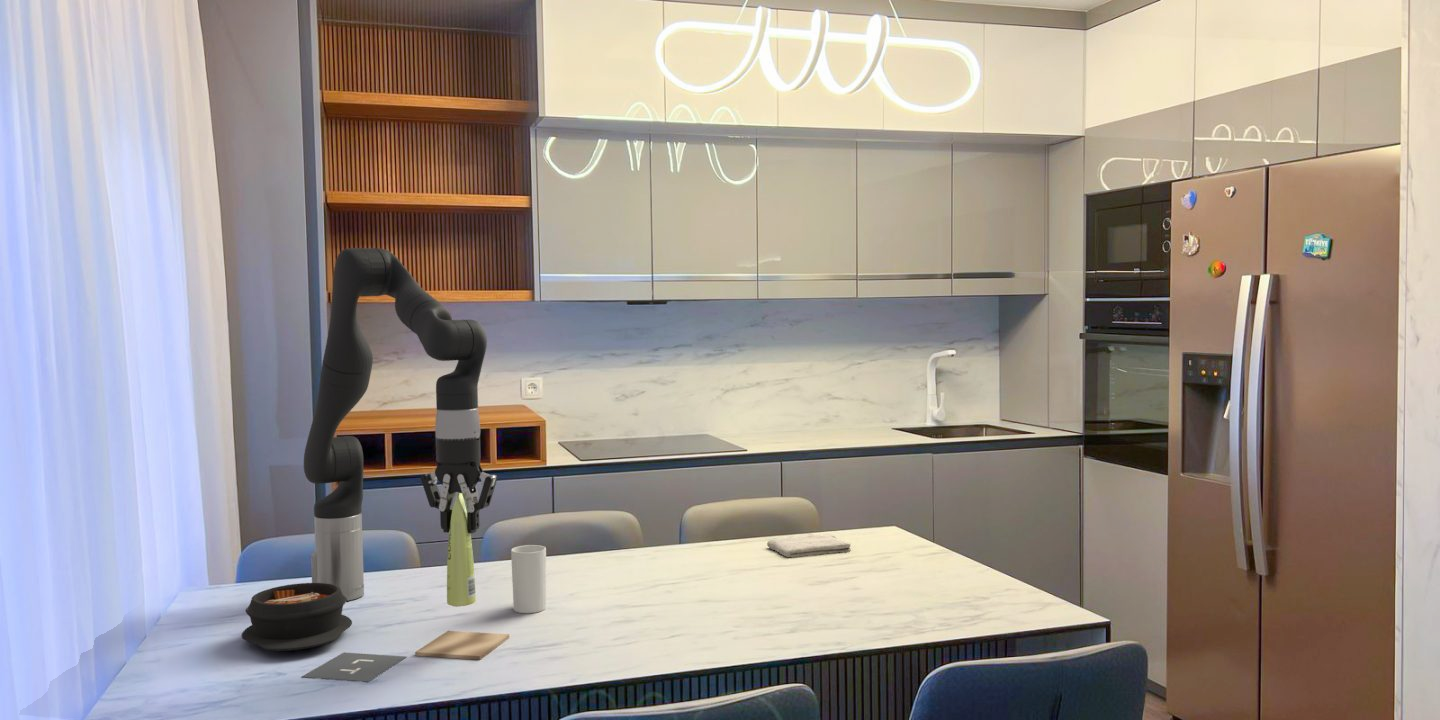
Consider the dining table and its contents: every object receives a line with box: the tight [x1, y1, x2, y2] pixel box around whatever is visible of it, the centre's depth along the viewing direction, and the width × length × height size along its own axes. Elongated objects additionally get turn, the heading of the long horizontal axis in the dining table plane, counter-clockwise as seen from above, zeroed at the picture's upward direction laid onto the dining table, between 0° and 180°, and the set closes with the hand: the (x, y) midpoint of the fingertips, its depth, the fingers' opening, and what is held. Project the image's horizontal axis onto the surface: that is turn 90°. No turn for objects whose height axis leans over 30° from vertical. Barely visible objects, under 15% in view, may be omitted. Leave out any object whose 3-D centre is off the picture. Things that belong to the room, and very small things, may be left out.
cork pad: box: [414, 630, 511, 661], centre depth 181 cm, size 12×12×1 cm
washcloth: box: [766, 533, 852, 558], centre depth 251 cm, size 12×18×3 cm, turn 111°
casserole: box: [240, 582, 353, 652], centre depth 187 cm, size 25×19×8 cm
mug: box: [510, 544, 547, 614], centre depth 205 cm, size 10×7×12 cm, turn 9°
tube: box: [446, 492, 477, 608], centre depth 180 cm, size 6×5×20 cm
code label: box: [300, 652, 408, 683], centre depth 171 cm, size 12×12×1 cm
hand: (460, 531), depth 180 cm, fingers closed on tube, 4 cm apart
